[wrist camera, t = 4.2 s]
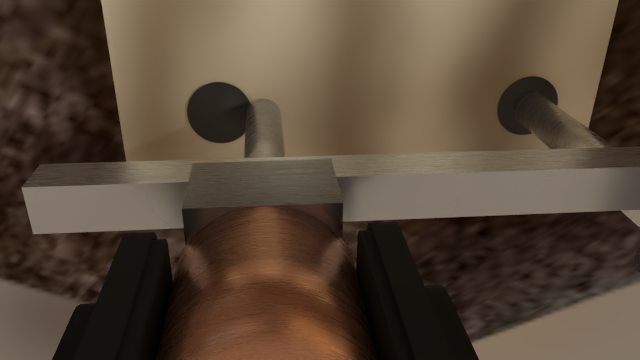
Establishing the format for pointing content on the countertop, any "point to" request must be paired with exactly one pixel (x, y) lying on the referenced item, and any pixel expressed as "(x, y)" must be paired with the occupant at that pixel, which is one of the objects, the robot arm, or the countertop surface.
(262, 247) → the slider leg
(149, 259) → the robot arm
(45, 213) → the frame
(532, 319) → the countertop surface
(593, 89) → the board
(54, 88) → the countertop surface
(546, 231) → the countertop surface
